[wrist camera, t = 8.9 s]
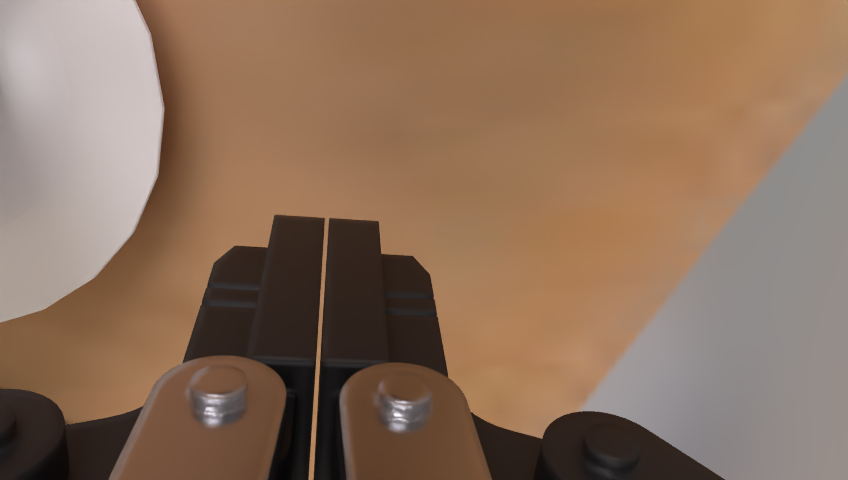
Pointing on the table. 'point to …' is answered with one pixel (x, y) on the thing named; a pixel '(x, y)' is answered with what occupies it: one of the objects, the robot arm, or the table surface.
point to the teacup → (72, 142)
